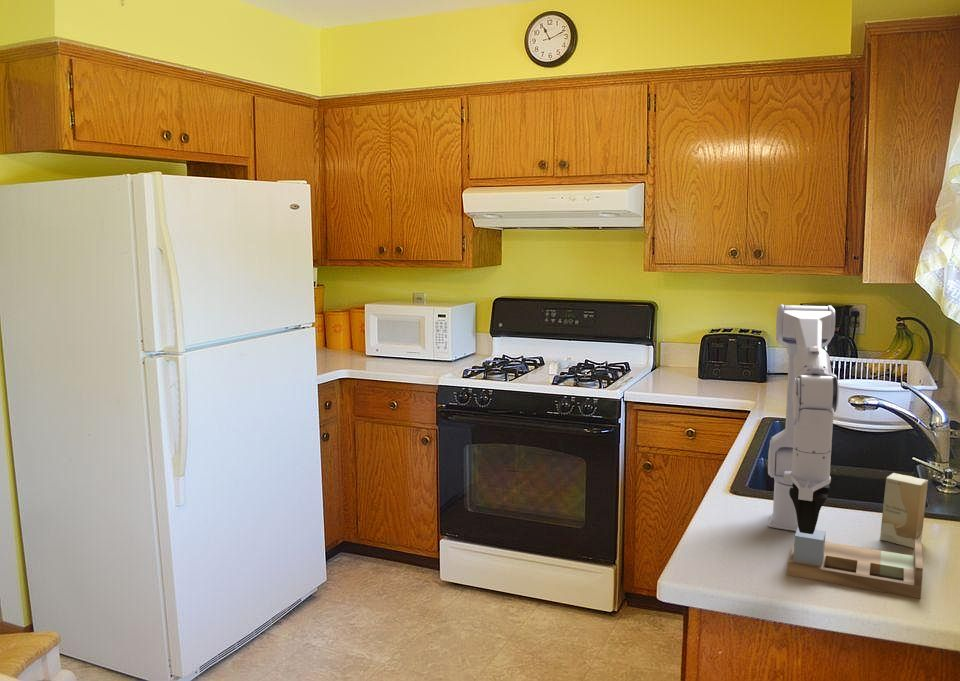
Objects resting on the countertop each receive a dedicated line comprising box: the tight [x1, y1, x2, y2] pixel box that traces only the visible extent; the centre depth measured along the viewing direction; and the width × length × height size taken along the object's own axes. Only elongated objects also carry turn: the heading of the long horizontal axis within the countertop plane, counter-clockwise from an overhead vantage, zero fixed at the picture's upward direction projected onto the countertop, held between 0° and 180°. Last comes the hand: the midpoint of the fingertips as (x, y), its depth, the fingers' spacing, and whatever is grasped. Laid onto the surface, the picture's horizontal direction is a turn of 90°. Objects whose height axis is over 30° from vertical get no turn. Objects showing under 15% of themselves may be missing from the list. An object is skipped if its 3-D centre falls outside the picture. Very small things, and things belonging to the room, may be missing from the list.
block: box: [793, 528, 827, 566], centre depth 142 cm, size 4×4×4 cm
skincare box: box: [879, 472, 929, 549], centre depth 154 cm, size 6×4×12 cm
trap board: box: [786, 539, 924, 599], centre depth 142 cm, size 13×20×5 cm, turn 63°
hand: (807, 529), depth 136 cm, fingers closed
